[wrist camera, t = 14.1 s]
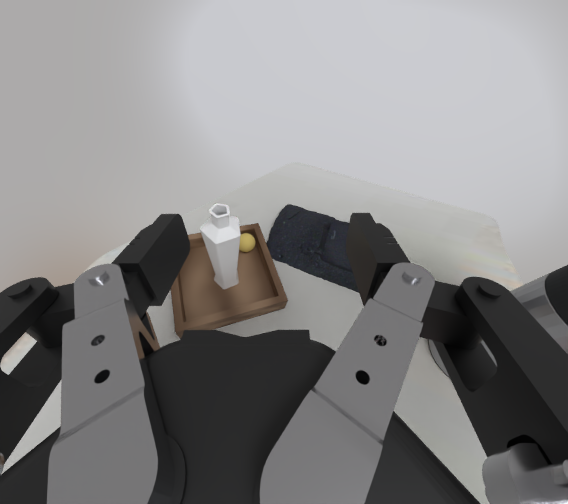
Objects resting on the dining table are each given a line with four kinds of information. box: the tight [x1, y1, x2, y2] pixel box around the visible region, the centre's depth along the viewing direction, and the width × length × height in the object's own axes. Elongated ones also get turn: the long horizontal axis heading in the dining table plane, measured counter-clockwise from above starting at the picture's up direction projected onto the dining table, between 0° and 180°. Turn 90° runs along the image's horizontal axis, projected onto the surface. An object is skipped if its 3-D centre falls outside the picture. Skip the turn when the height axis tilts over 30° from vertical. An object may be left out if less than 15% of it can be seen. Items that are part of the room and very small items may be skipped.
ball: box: [239, 233, 255, 252], centre depth 39 cm, size 3×3×3 cm
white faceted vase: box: [200, 203, 240, 289], centre depth 30 cm, size 5×4×15 cm
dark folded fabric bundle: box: [266, 204, 359, 293], centre depth 43 cm, size 15×22×5 cm
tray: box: [171, 223, 288, 338], centre depth 36 cm, size 15×15×3 cm
